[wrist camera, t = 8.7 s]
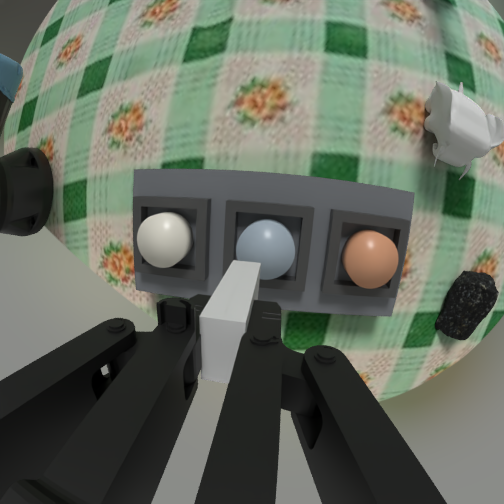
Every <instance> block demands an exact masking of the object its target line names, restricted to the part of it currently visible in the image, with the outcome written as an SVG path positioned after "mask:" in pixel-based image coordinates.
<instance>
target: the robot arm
mask: <svg viewBox="0 0 504 504" xmlns="http://www.w3.org/2000/svg"><path fill="white" fill-rule="evenodd" d="M22 76H23V69H22V67H21V65H20V64H19V63H17V62H15V61H14V60H12V59H10V58H8V57H6V56H4V55H2V54H0V137H1V134H2V130H3V127H4V124H5V121H6V119H7V116H8V113H9V110H10V108H11V105H12V103H14V101H15V98H14V97H15V95H16V92H17V89H18V87H19V84H20V82H21V79H22ZM52 196H53V181H52V173H51V168H50V165H49V162H48V160H47V157H46V156H45V154H44V153H43V152H42V151H41V150H40V149H38V148H29V147H25V148H21V149H18V150H16V151H14V152H11V153H9V154H7V155H4V156H3V157H0V233H4V234H11V235H17V236H28V235H31V234H35V233H37V232H38V231H40V230H41V229H42V227H43V226H44V225H45V223H46V221H47V219H48V216H49V213H50V209H51V204H52ZM260 268H261V263H257V262H247V261H237V260H233V262H232V263H231V265H230V266H229V268H228V270H227V271H226V273H225V275H224V276H223V278H222V280H221V281H220V283H219V285H218V286H217V288H216V290H215V291H214V293H213V295H212V296H210V295H203V294H197V295H195V296H193V297H191V298H190V299H189V300H188V299H183V298H167V299H163V300H160V301H159V302H157V316H158V326H157V327H156V328H155V329H154V331H153V332H136V331H135V326H134V324H133V322H131V321H130V320H127V319H123V318H114V319H110V320H107V321H104V322H103V323H101V324H99V325H97V326H95V327H94V328H92V329H90V330H88V331H87V332H85V333H83V334H81V335H80V336H78V337H76V338H74V339H72V340H71V341H69V342H67V343H65V344H63V345H62V346H60V347H58V348H56V349H55V350H53V351H51V352H50V353H48V354H46V355H44V356H42V357H41V358H39V359H37V360H36V361H34V362H32V363H30V364H29V365H27V366H25V367H24V368H22V369H20V370H18V371H16V372H15V373H13V374H11V375H10V376H8V377H6V378H5V379H3V380H1V381H0V504H151V502H152V500H153V498H154V495H155V492H156V490H157V488H158V485H159V483H160V480H161V478H162V475H163V473H164V470H165V468H166V465H167V463H168V460H169V458H170V455H171V452H172V450H173V448H174V445H175V443H176V440H177V438H178V435H179V433H180V430H181V428H182V425H183V423H184V420H185V418H186V415H187V413H188V410H189V408H190V405H191V403H192V400H193V398H194V395H195V393H196V390H197V388H198V379H197V378H198V374H199V372H200V370H201V379H204V380H210V381H216V382H222V383H229V384H228V388H227V391H226V395H225V399H224V402H223V406H222V410H221V413H220V417H219V420H218V424H217V427H216V431H215V434H214V438H213V441H212V445H211V448H210V452H209V455H208V459H207V462H206V466H205V469H204V473H203V476H202V480H201V483H200V486H199V490H198V493H197V497H196V500H195V504H275V499H276V484H277V470H278V455H279V435H280V414H281V413H280V412H281V409H284V410H288V411H291V417H292V420H293V423H294V425H295V429H296V431H297V434H298V437H299V440H300V443H301V446H302V448H303V451H304V454H305V457H306V460H307V463H308V465H309V468H310V471H311V474H312V477H313V479H314V482H315V485H316V488H317V490H318V493H319V496H320V499H321V502H322V504H447V503H446V502H445V500H444V498H443V497H442V495H441V494H440V492H439V491H438V489H437V488H436V486H435V485H434V483H433V482H432V480H431V479H430V477H429V476H428V474H427V473H426V471H425V470H424V468H423V467H422V465H421V464H420V462H419V461H418V459H417V458H416V456H415V455H414V453H413V452H412V450H411V449H410V448H409V446H408V445H407V443H406V442H405V440H404V439H403V437H402V436H401V434H400V433H399V432H398V430H397V429H396V427H395V426H394V424H393V423H392V421H391V420H390V419H389V417H388V416H387V414H386V413H385V411H384V410H383V408H382V407H381V406H380V404H379V403H378V401H377V400H376V398H375V397H374V396H373V394H372V393H371V391H370V390H369V388H368V387H367V386H366V384H365V383H364V381H363V380H362V378H361V377H360V376H359V374H358V373H357V371H356V370H355V369H354V367H353V366H352V364H351V363H350V362H349V360H348V359H347V357H346V356H345V355H344V354H343V353H342V352H341V351H340V350H338V349H336V348H334V347H331V346H326V345H317V346H313V347H310V348H309V349H307V350H306V351H305V353H304V354H303V353H299V352H296V351H293V350H291V349H289V348H287V347H286V346H285V345H284V344H283V343H282V339H281V307H280V306H279V304H278V303H277V302H271V301H261V300H258V291H259V280H260ZM106 364H107V368H108V371H109V373H107V374H106V375H102V372H101V368H102V367H103V366H105V365H106Z"/></svg>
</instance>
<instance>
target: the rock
mask: <svg viewBox="0 0 504 504" xmlns="http://www.w3.org/2000/svg"><path fill="white" fill-rule="evenodd" d="M498 294H499V292H498V291H497V289H496V287H495V282H494V279H493V278H492V277H491V276H490V275H488V274H486V273H482V272H481V273H477V272H472V271H463V273H462V274H461V275H460V276H459V277H458V278H457V279H456V280H455V283H454V285H453V286H452V287H451V289H450V290H449V292H448V294H447V298H446V301H445V305H444V307H443V309H442V311H441V314H440V316H439V318H438V319H437V322H436V323H435V328H436V329H438V330H441V331H442V332H443V333H444V334H446V335H447V336H450V337H452V338H454V339H458V340H466V339H467V338H469V336H470V335H471V334H472V333H473V331H474V330H475V329H476V327H477V326H478V324H479V323H480V322H481V321H482V320H483V319H484V318H485V317H486V316H487V315H488V313H489V312H490V310H491V309H492V308H493V306H494V304H495V302H496V300H497V297H498Z"/></svg>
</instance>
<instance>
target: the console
mask: <svg viewBox="0 0 504 504" xmlns="http://www.w3.org/2000/svg"><path fill="white" fill-rule="evenodd" d="M413 203H414V193H413V192H408V191H403V190H398V189H392V188H387V187H381V186H375V185H369V184H363V183H356V182H350V181H342V180H335V179H327V178H319V177H310V176H301V175H291V174H280V173H267V172H253V171H236V170H211V169H137V170H134V186H133V247H134V268H135V282H136V290H139V291H145V292H151V293H157V294H163V295H170V296H176V297H183V298H189V299H190V298H191V297H193V296H195V295H197V294H203V295H210V296H212V295H213V293H214V291H215V290H216V288H217V286H218V285H219V283H220V281H221V280H222V278H223V276H224V275H225V273H226V271H227V270H228V268H229V266H230V265H231V263H232V262H233V260H237V261H238V259H237V255H236V246H237V242H238V239H239V237H240V236H241V234H242V233H243V232H244V230H245V229H246V228H247V227H248V226H249V225H250V224H251V223H253V222H255V221H257V220H260V219H273V220H277V221H279V222H281V223H282V224H284V225H285V226H286V227H287V228H288V229H289V231H290V232H291V234H292V237H293V241H294V246H295V257H294V260H293V263H292V265H291V267H290V268H289V269H288V270H287V271H286V272H285V273H284V274H283V275H281V276H279V277H277V278H274V279H268V280H263V279H260V280H259V291H258V300H261V301H271V302H277V303H278V304H279V306H280V307H281V310H292V311H304V312H317V313H331V314H347V315H367V316H391V315H392V312H393V308H394V304H395V301H396V297H397V293H398V289H399V284H400V280H401V276H402V271H403V266H404V261H405V256H406V251H407V245H408V239H409V233H410V226H411V219H412V211H413ZM163 212H175V213H178V214H180V215H182V216H183V217H184V218H185V219H186V220H187V221H188V222H189V224H190V226H191V228H192V231H193V245H192V248H191V250H190V252H189V253H188V254H187V255H186V256H185V257H184V258H183V259H181V260H180V261H179V262H177V263H176V264H175V265H173V266H171V267H167V268H159V267H156V266H153V265H151V264H150V263H148V262H147V261H146V260H145V259H144V258H143V256H142V255H141V253H140V251H139V248H138V244H137V234H138V230H139V227H140V225H141V224H142V223H143V221H144V220H145V219H147V218H148V217H150V216H153V215H156V214H160V213H163ZM366 229H368V230H374V231H376V232H378V233H380V234H382V235H384V236H386V237H387V238H389V239H390V240H391V241H392V242H393V243H394V245H395V246H396V249H397V252H398V266H397V269H396V271H395V273H394V275H393V277H392V278H391V279H390V280H389V281H388V282H387V283H386V284H384V285H382V286H380V287H378V288H373V289H367V288H363V287H360V286H358V285H357V284H356V283H355V282H354V281H353V280H352V279H351V278H350V276H349V275H348V273H347V272H346V270H345V269H344V267H343V264H342V249H343V246H344V244H345V242H346V241H347V240H348V238H349V237H350V236H351V235H353V234H354V233H356V232H358V231H360V230H366Z"/></svg>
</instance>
